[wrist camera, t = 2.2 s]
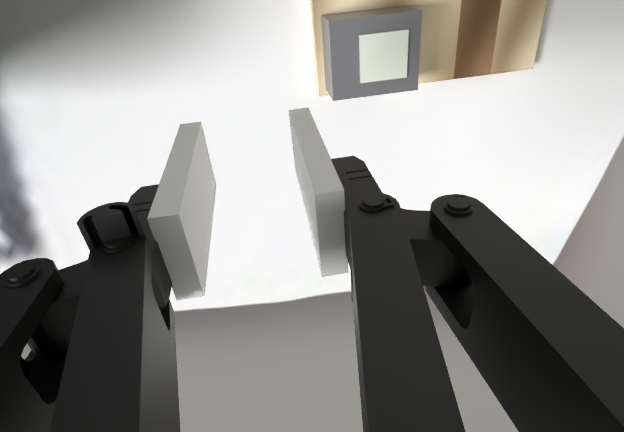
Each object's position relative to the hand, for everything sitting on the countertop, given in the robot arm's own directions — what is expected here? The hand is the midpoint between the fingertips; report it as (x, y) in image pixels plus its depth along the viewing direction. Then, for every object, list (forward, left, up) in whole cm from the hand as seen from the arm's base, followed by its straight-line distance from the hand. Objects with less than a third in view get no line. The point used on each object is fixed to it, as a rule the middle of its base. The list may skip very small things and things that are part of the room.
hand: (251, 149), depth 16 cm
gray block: (+9, 0, -15) cm, 18 cm away
